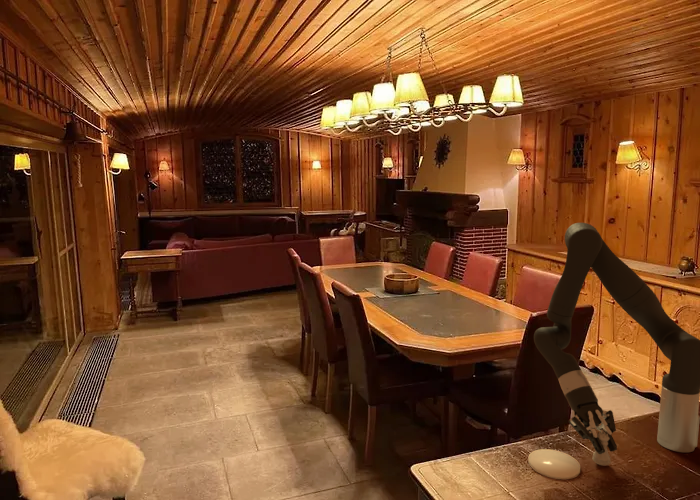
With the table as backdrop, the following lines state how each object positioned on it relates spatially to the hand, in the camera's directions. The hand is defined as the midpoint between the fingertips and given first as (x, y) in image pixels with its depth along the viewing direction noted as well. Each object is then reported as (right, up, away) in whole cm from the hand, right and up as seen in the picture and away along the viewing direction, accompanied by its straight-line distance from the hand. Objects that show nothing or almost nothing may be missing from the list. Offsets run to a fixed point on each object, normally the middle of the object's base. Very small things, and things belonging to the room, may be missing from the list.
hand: (608, 451), depth 134 cm
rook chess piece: (-1, -4, +3) cm, 5 cm away
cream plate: (-13, -5, +3) cm, 14 cm away
